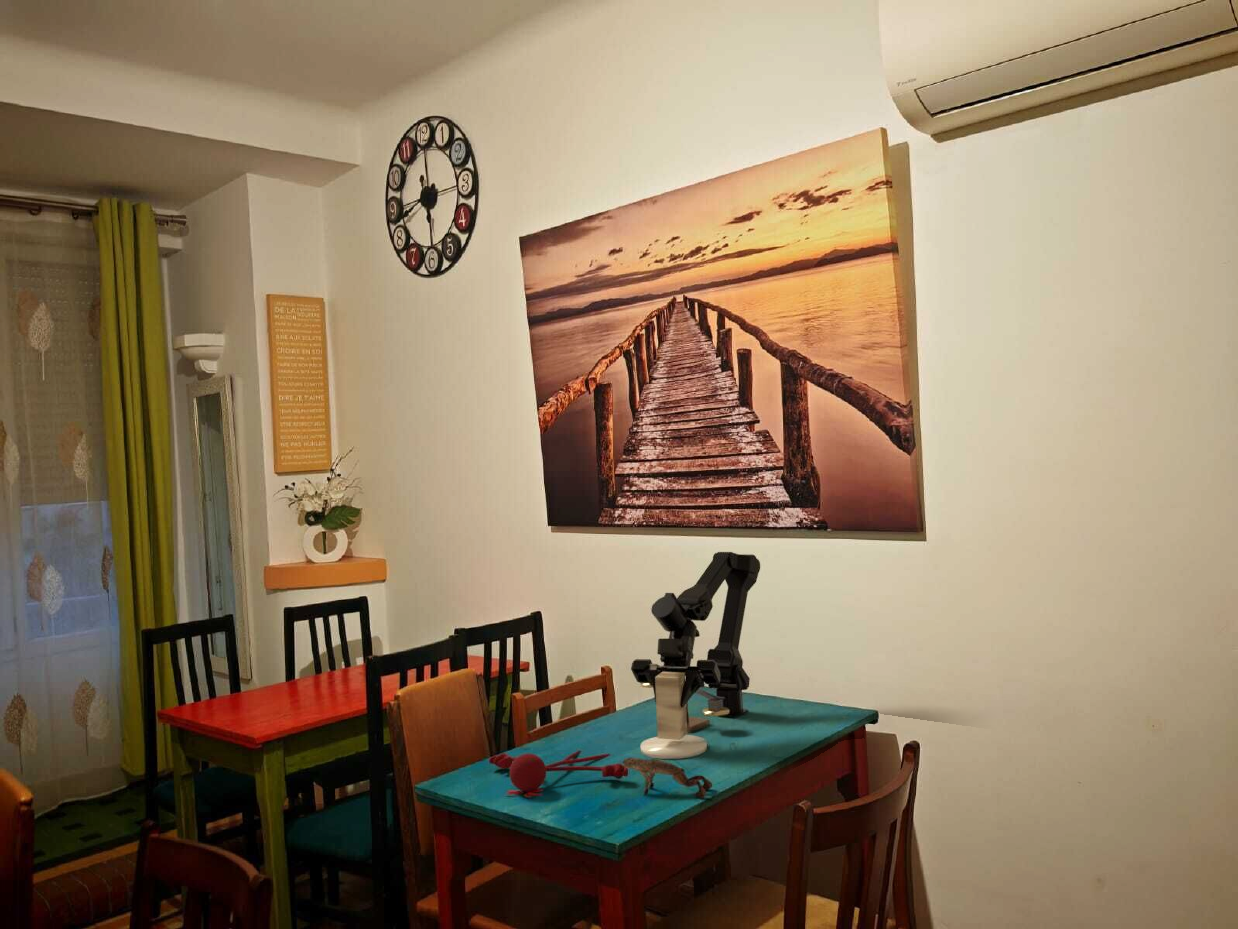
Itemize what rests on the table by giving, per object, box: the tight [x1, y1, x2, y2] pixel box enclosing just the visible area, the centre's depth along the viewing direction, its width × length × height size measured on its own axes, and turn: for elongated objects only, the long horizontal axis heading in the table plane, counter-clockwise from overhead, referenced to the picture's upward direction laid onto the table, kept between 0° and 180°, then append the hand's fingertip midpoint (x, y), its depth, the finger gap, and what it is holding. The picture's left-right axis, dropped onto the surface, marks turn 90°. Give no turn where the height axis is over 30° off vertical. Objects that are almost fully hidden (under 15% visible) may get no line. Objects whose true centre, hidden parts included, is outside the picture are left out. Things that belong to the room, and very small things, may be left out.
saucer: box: [640, 734, 708, 760], centre depth 217 cm, size 14×14×1 cm
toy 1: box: [488, 749, 629, 798], centre depth 205 cm, size 32×8×30 cm
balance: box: [640, 683, 729, 734], centre depth 235 cm, size 8×23×12 cm, turn 50°
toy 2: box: [621, 757, 713, 799], centre depth 190 cm, size 6×9×16 cm
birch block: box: [655, 672, 688, 740], centre depth 217 cm, size 5×5×13 cm
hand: (669, 706), depth 216 cm, fingers closed on birch block, 5 cm apart
